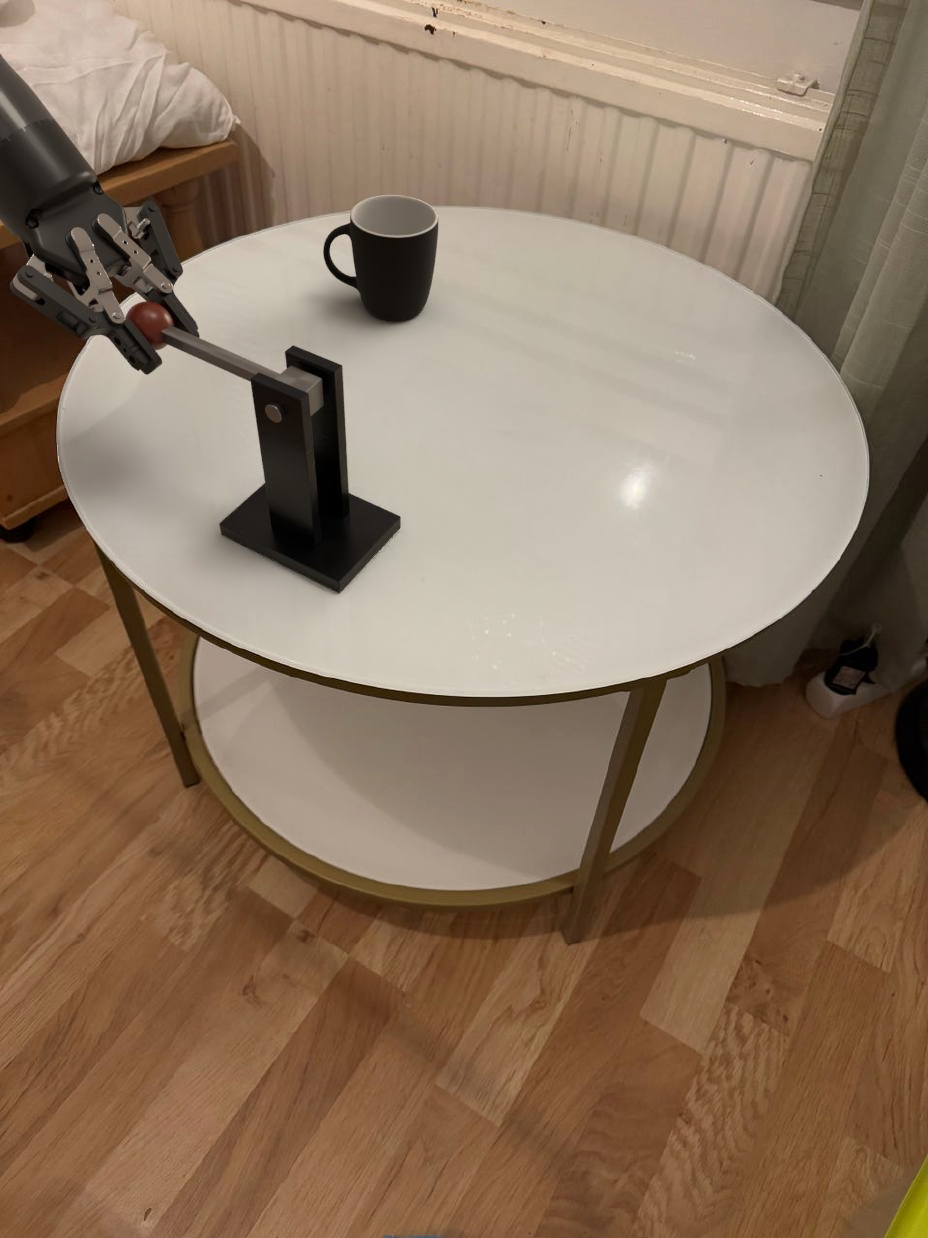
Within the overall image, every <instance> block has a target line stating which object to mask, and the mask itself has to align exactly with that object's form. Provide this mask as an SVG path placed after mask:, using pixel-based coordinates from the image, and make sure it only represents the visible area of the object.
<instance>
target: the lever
mask: <svg viewBox="0 0 928 1238" xmlns="http://www.w3.org/2000/svg"><path fill="white" fill-rule="evenodd" d="M130 319H131V321H132V322H133V323H134V324H135V326H136V327H137V328H138V330H139V331H140V332H141V333H142V335H143V336H144V337H145V338H146V340H147V341H148V342H149V343H150V345H151V346H152V347H153V348H154V350H155V351H156V352H157V351H160V350H162V349H164V348H165V347H167V346H170V347H172V348H175V349H176V350H179V351H180V352H183V353H186V354H188V355H189V356H192V357H194V358H196V359H199V360H200V361H203V362H205V363H207V364H210V365H212V366H215V367H217V368H219V369H221V370H224V371H225V372H227V373H230V374H232V375H234V376H237V377H238V378H241V379H243V380H246V381H247V382H250V383H251V381H250V379H251V378H252V377H253V376H254V375H255V374H257V373H258V372H260V373H262V374H264V375H267V376H269V377H272V378H274V379H276V380H279V381H281V382H283V383H286V384H288V385H290V386H293V387H295V388H297V389H300V390H302V391H305V392H307V393H309V401H310V413H311V416H312V415H313V414H314V413H315V412H317V411H318V410H319V409H320V408H321V407H322V406H323V405H324V402H323V383H322V378H319V377H317V376H315V375H313V374H310V373H308V372H306V371H303V370H301V369H299V368H297V367H294V366H292V365H291V366H290V367H288V368H287V367H286V369H284V370H283V371H282V372H281V373H279V372H277V371H275V370H273V369H270V368H269V367H266V366H263V365H262V364H259V363H257V362H255V361H252V360H250V359H247V358H245V357H243V356H241V355H238V354H236V353H234V352H232V351H229V350H228V349H225V348H222V347H220V346H218V345H216V344H214V343H211V342H210V341H207V340H205V339H203V338H200V337H199V338H198V337H196V336H193V335H191V334H189V333H187V332H184V331H182V330H180V329H178V328H175V327H174V322H173V319H172V317H171V315H170V313H169V312H168V311H167V310H166V309H165V308H164V307H162V306H161V305H159V304H157V303H154V302H149V301H146V300H144V301H141V302H138V303H135V304H133V306H131V307H130V308H129V310H128V311H127V313H126V315H125V321H126V322H127V321H129V320H130Z"/></svg>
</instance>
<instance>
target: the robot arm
mask: <svg viewBox="0 0 928 1238" xmlns="http://www.w3.org/2000/svg"><path fill="white" fill-rule="evenodd" d="M0 222H1V223H2V224H3V225H4V226H5V228H6V229H7V230H8V231H9V232H10V233H11V235H13V236H14V237H17V238H18V239H19V240H20V241H21V243H22V245H23V248H24V251H25V255H26V257H27V259H28V261H27V263H26V264H24V265H22V266H21V267H20V268H19V270H18V271H17V273H16V274H15V276H14V277H13V279H11V281H10V282H9V289H10V291H11V292H12V294H13V295H15V296H16V297H18V298H20V299H21V300H23V302H25V303H26V304H28V305H29V306H31V307H32V308H34V309H35V310H37V311H38V312H40V313H41V314H42V315H44V316H45V317H47V318H48V319H50V320H51V321H53V322H54V323H56V324H57V325H58V326H60V327H61V328H63V329H64V330H66V331H67V332H69V334H71V335H72V336H74V337H75V338H77V339H79V340H87V339H88V338H89V337H95V336H103V337H105V338H107V339H108V340H109V341H110V342H111V343H112V344H113V346H114V347H115V348H116V349H117V351H118V352H119V353H120V354H121V356H122V357H123V358H124V359H125V361H126V362H127V363H128V364H129V365H130V367H131V368H133V369H134V370H136V371H137V372H139V371H141V372H142V373H143V374H144V375H146V376H149V375H150V374H151V373H153V372H155V371H156V370H157V369H158V368H160V367H161V365H163V359H162V357H161V356H160V355H159V353H158V352H157V350H156V351H155V350H154V348H153V347H152V346H151V345H150V343H149V342H148V341H147V340H146V338H145V337H144V336H143V335H142V333H141V332H140V331H139V330H138V328H137V327H136V326H135V324H134V323H133V322H132V321H131V319H130V320H129V321H127V322H126V321H125V317H126V315H125V313H124V311H123V309H122V308H121V305H120V303H119V302H118V300H117V298H116V295H115V294H114V292H113V289H114V287H113V283H112V281H111V279H110V278H112V277H113V278H114V279H116V280H117V281H118V282H119V283H120V284H121V285H122V286H124V287H127V288H131V289H132V290H133V291H134V292H135V293H137V294H138V295H139V296H140V297H141V298H142V299H143V300H144V301H149V302H154V303H157V304H159V305H161V306H162V307H164V308H165V309H166V310H167V311H168V312H169V313H170V315H171V317H172V319H173V322H174V327H175V328H178V329H180V330H182V331H184V332H187V333H189V334H191V335H193V336H196V337H198V338H200V337H201V336H200V332H199V331H198V330H199V326H198V324H197V321H196V320H195V319H194V317H192V315H191V314H190V313H189V311H188V310H187V308H186V307H185V306H184V304H183V303H182V302H181V301H180V300H179V298H178V296H177V295H176V294H175V290H174V286H175V285H176V283H177V281H178V279H179V278H180V277H181V276H183V274H184V269H183V265H182V263H181V260H180V258H179V255H178V252H177V250H176V248H175V245H174V243H173V241H172V238H171V236H170V233H169V230H168V228H167V225H166V223H165V220H164V218H163V216H162V212H161V211H160V208H159V205H157V203H156V202H154V201H153V200H146V201H144V202H143V204H142V205H140V206H128V207H127V206H126V207H124V206H123V205H122V204H121V203H119V202H118V201H117V200H116V199H114V198H113V197H111V196H110V195H108V194H107V192H105V191H104V190H103V188H102V185H101V183H100V180H99V178H98V174H97V173H96V171H95V170H94V169H93V167H92V166H91V165H90V163H89V162H88V160H87V159H86V158H85V157H84V155H83V154H82V152H81V151H79V149H78V148H77V146H76V145H75V144H74V143H73V140H71V139H70V137H69V135H67V133H66V132H65V131H64V129H63V128H62V127H61V126H60V123H59V122H58V121H57V120H56V119H55V118H54V116H53V115H52V114H51V112H50V111H49V110H48V108H47V107H46V105H45V104H44V103H43V102H42V100H41V99H40V98H39V97H38V95H37V94H36V93H35V92H34V90H33V89H32V88H31V87H30V85H29V84H28V83H27V82H26V81H25V79H23V77H21V76H20V74H18V72H17V71H16V70H15V69H14V68H13V67H12V66H11V65H10V64H9V62H8V61H7V60H6V59H5V58H4V56H3V55H2V54H1V53H0ZM129 230H130V232H131V236H132V238H133V239H138V242H139V244H140V246H141V247H140V246H139V244H137V243H136V242H135V241H134V240H133V239H132V238H131V237H130V234H129V233H130V232H129ZM129 263H130V264H131V266H128V264H129ZM53 276H56V277H58V278H60V279H62V280H64V281H66V282H67V284H68V286H69V287H70V290H71V291H72V293H73V295H72V294H71V293H70V292H68V291H67V289H64V288H63V287H62V286H60V285H59V284H57V283H56V282H55V280H54V278H53Z"/></svg>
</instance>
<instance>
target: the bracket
mask: <svg viewBox="0 0 928 1238" xmlns="http://www.w3.org/2000/svg"><path fill="white" fill-rule="evenodd" d="M284 357H285V364H286V365H285V366H286V369H287V368H288V367H290V366H291V365H292V366H294V367H297V368H299V369H301V370H303V371H306V372H308V373H310V374H313V375H315V376H317V377H319V378H322V383H323V402H324V405H323V406H322V407H321V408H320V409H319V410H318V411H317V412H315V413H314V414H313V415H312V416H311V413H310V401H309V393H307V392H305V391H302V390H300V389H297V388H295V387H293V386H290V385H288V384H286V383H283V382H281V381H279V380H276V379H274V378H272V377H269V376H267V375H264V374H262V373H260V372H258V373H257V374H255V375H254V376H253V377H252V378H251V379H250V381H251V382H250V381H249V382H250V387H251V395H252V401H253V402H252V403H253V408H254V409H253V410H254V417H255V422H256V431H257V436H258V444H259V451H260V456H261V457H260V458H261V465H262V470H263V471H262V472H263V478H264V483H263V484H262V485H260V487H258V489H255V491H254V492H253V493H251V494H250V495H249V496H248V497H247V498H246V499H245V500H244V501H242V503H240V504H239V505H238V506H237V507H236V508H234V510H232V511H231V512H230V513H229V514H228V515H227V516H226V517H224V519H222V520H221V521H220V522H219V523H218V525H219V530H220V535H222V536H223V537H225V538H227V539H229V540H230V541H233V542H236V543H237V544H240V545H242V546H243V547H245V548H248V549H250V550H252V551H254V552H256V553H257V554H260V555H262V556H264V557H266V558H268V559H270V560H272V561H274V562H276V563H278V564H280V565H281V566H284V567H286V568H288V569H290V570H293V571H294V572H296V573H298V574H301V575H302V576H304V577H306V578H308V579H310V580H313V581H314V582H317V583H318V584H320V585H323V586H325V587H326V588H329V589H331V590H333V591H334V592H336V593H338V594H341V593H342V592H343V590H344V589H345V588H346V587H347V586H348V585H349V584H350V583H351V582H352V581H353V579H355V577H356V576H357V575H358V574H359V573H360V572H361V571H362V570H363V569H364V567H366V566H367V564H368V563H369V562H370V561H371V560H372V559H373V558H374V557H375V556H376V555H377V553H378V552H379V551H380V550H382V548H383V547H384V546H385V545H386V544H387V543H388V542H389V541H390V540H391V538H392V537H393V536H394V535H395V534H396V533H397V532H398V530H399V529H400V528H401V527H402V525H401V523H402V519H401V518H402V517H401V516H400V515H399V514H396V513H394V512H392V511H390V510H387V509H385V508H383V507H381V506H379V505H376V504H374V503H372V502H370V501H368V500H365V499H363V498H362V497H359V496H357V495H355V494H352V493H350V489H349V488H350V487H349V469H348V453H347V452H348V449H347V430H346V411H345V410H346V409H345V391H344V373H343V372H344V371H343V369H344V368H343V364H340V363H338V362H335V361H333V360H331V359H328V358H326V357H323V356H321V355H319V354H316V353H314V352H311V351H308V350H306V349H303V348H301V347H298V346H296V345H291V346H290V347H288V348H287V349H286V350H285V351H284Z"/></svg>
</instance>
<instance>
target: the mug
mask: <svg viewBox="0 0 928 1238" xmlns="http://www.w3.org/2000/svg"><path fill="white" fill-rule="evenodd" d="M342 235H346V236H348V237H349V239H350V242H351V243H350V244H351V250H352V252H351V253H352V258H353V266H354V273H355V276H350V275H348V274H346V273H344V272H343V271H342V270H340V269H339V268H338V267H337V265H335V263H334V261H333V259H332V256H331V245H332V243H333V242H334V240H335V239H337V238H338V237H339V236H342ZM438 237H439V216H438V213H437V211H436V209H435V208H434V207H433V206H432V205H431V204H429V203H427V202H426V201H423V200H421V199H418V198H415V197H413V196H409V195H402V194H401V195H400V194H382V195H375V196H371V197H368V198H365V199H362V200H361V201H359V202H358V203H356V204H355V205H354V206H353V207H352V208H351V210H350V215H349V222H348V223H345V224H342V225H339V226H338V227H335V228H333V230H331V232H329V234H327V236H326V238H325V241H324V244H323V248H322V249H323V250H322V252H323V253H322V254H323V260H324V263H325V265H326V268H327V270H328V271H329V272H330V274H331V275H332V276H333V277H334V278H335V279H336V280H338V281H340V282H341V283H342V284H345V285H347V286H350V287H353V288H354V289H356V290H357V291H358V293H359V296H360V298H361V301H362V303H363V305H364V307H365V309H366V310H367V311H368V312H369V313H370V314H371V315H372V316H374V317H376V318H378V319H379V320H380V319H381V320H385V321H390V322H400V321H401V322H402V321H407V320H410V319H413V318H415V317H417V316H419V314H420V313H421V312H423V309H424V308H425V306H426V304H427V302H428V299H429V295H430V293H431V288H432V284H433V278H434V274H435V273H434V272H435V265H436V258H437V248H438V239H439V238H438Z"/></svg>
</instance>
